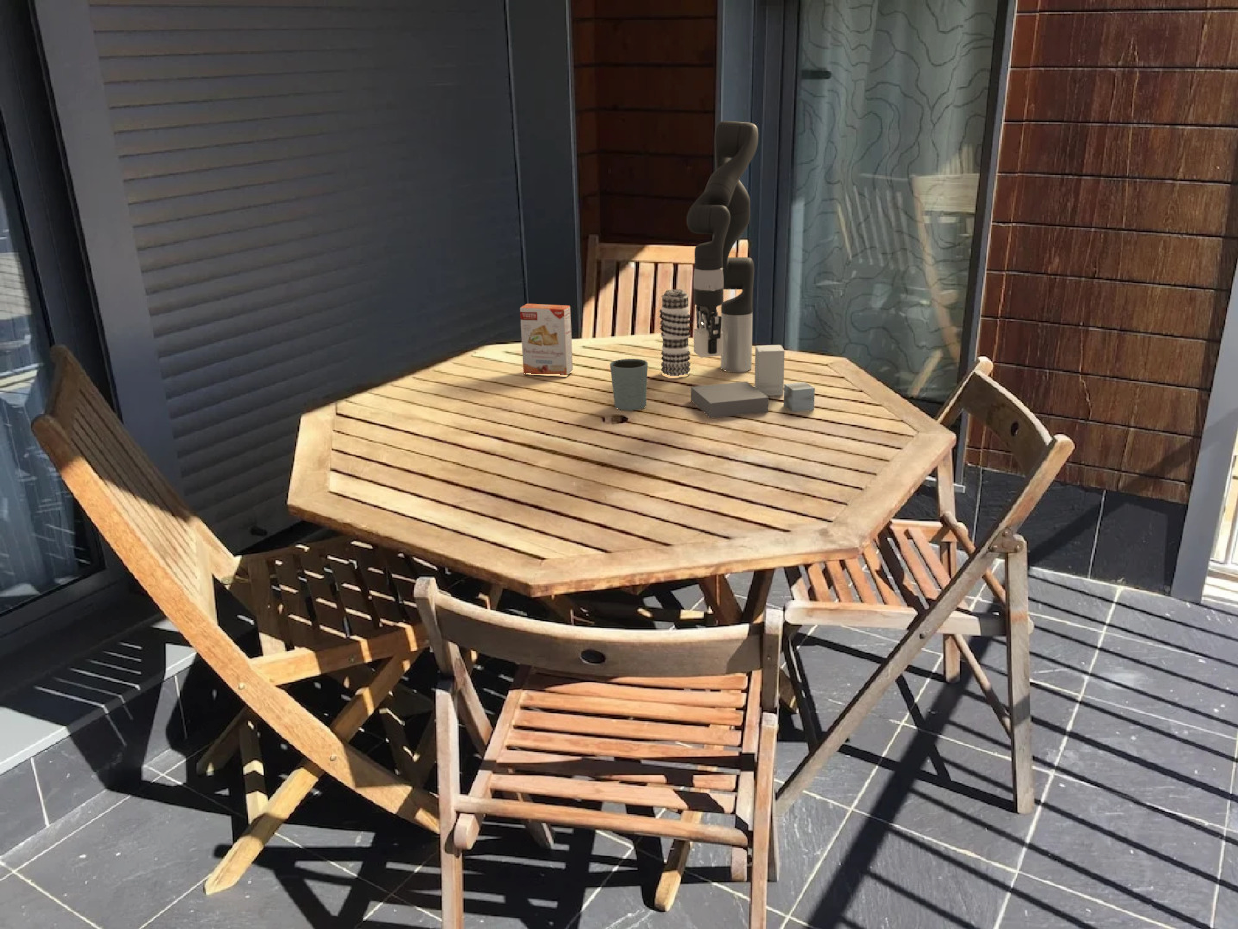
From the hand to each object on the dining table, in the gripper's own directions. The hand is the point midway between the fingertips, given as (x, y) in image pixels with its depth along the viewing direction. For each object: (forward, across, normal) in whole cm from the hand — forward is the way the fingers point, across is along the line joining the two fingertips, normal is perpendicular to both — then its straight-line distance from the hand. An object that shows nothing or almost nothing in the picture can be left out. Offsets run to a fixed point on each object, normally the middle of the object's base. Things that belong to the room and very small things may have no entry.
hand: (708, 349), depth 268 cm
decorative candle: (+18, -37, +2) cm, 41 cm away
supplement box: (+17, -11, +21) cm, 30 cm away
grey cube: (+17, +5, +24) cm, 29 cm away
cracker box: (+18, -49, -34) cm, 63 cm away
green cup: (+17, -10, -19) cm, 27 cm away
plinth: (+17, -2, +6) cm, 18 cm away
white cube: (+1, 0, 0) cm, 1 cm away
